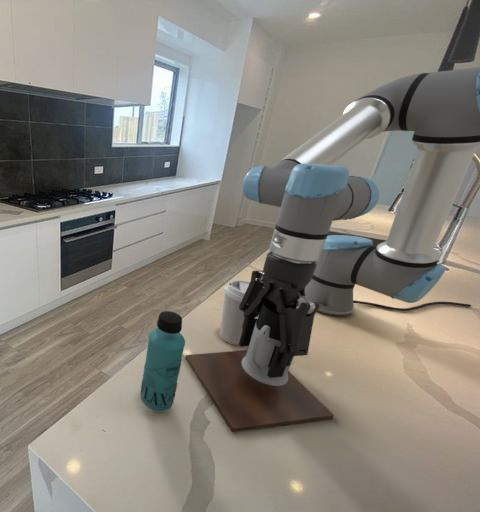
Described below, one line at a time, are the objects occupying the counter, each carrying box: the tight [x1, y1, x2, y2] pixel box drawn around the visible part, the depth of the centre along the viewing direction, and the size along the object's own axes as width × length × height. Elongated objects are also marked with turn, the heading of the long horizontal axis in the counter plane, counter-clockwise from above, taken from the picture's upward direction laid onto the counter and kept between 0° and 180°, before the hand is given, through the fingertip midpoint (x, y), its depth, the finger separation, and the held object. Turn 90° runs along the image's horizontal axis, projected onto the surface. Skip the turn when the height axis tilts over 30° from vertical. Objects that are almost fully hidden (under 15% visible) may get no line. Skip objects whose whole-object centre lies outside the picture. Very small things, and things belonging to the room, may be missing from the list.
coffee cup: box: [219, 279, 257, 346], centre depth 76 cm, size 10×10×15 cm
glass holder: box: [242, 301, 295, 386], centre depth 58 cm, size 9×14×15 cm, turn 129°
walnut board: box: [184, 349, 335, 433], centre depth 63 cm, size 21×19×1 cm
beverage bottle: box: [139, 310, 186, 412], centre depth 54 cm, size 6×7×20 cm
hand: (258, 359), depth 61 cm, fingers closed on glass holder, 8 cm apart
